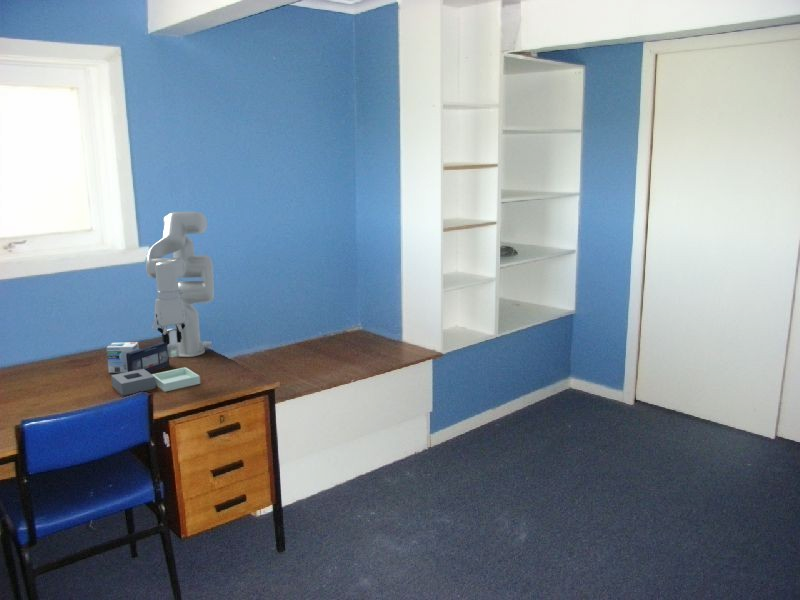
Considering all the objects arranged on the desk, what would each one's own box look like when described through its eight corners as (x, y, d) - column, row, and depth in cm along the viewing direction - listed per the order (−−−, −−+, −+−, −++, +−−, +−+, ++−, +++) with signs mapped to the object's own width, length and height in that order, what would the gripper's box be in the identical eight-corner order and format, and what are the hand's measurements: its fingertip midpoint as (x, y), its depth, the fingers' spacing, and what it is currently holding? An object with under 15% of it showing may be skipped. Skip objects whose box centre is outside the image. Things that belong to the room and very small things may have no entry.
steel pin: (176, 353, 259) (174, 327, 257) (180, 355, 256) (178, 329, 254) (166, 355, 257) (164, 329, 255) (170, 357, 254) (168, 331, 252)
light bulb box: (108, 373, 271) (105, 347, 269) (114, 367, 278) (112, 342, 275) (135, 372, 271) (133, 346, 269) (141, 367, 278) (138, 341, 276)
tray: (186, 374, 269) (185, 367, 268) (200, 383, 258) (199, 375, 258) (151, 382, 260) (150, 374, 260) (164, 391, 250) (164, 383, 249)
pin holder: (144, 379, 263) (143, 368, 262) (155, 388, 254) (154, 376, 253) (112, 386, 255) (111, 375, 254) (122, 395, 246) (121, 383, 245)
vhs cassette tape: (132, 378, 264) (129, 354, 262) (127, 377, 266) (124, 353, 264) (170, 366, 279) (168, 342, 277) (165, 364, 281) (163, 341, 279)
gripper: (186, 290, 260) (190, 336, 264) (142, 296, 249) (146, 344, 253) (194, 293, 254) (197, 341, 258) (149, 299, 244) (153, 349, 248)
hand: (172, 342), depth 256 cm, fingers closed on steel pin, 4 cm apart
